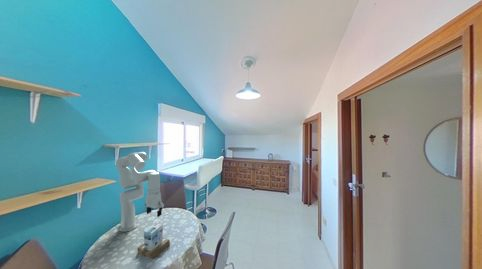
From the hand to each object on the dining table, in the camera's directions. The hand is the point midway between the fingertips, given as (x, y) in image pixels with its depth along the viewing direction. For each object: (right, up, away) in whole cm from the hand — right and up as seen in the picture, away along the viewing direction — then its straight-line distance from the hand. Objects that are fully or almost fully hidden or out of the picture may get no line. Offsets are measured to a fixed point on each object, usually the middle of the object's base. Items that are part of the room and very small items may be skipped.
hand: (154, 214), depth 118 cm
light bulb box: (0, -20, -1) cm, 20 cm away
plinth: (+1, -24, -1) cm, 24 cm away
